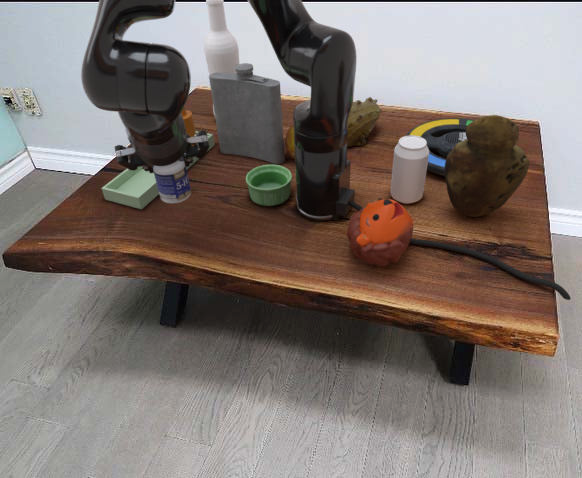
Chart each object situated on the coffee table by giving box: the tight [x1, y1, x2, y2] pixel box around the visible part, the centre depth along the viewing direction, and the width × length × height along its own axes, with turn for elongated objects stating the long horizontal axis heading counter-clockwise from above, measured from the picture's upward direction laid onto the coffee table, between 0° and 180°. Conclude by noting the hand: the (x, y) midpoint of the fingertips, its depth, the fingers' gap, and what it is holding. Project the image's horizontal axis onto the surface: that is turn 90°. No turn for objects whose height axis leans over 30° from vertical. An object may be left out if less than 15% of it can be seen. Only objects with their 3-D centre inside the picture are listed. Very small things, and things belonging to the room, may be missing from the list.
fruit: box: [284, 124, 295, 160], centre depth 108 cm, size 10×9×8 cm
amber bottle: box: [181, 105, 196, 146], centre depth 112 cm, size 5×5×12 cm
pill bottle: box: [153, 161, 192, 204], centre depth 83 cm, size 5×5×9 cm
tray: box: [101, 130, 216, 210], centre depth 109 cm, size 9×27×3 cm, turn 155°
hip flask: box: [208, 62, 286, 165], centre depth 107 cm, size 16×4×20 cm, turn 66°
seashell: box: [347, 96, 383, 148], centre depth 115 cm, size 11×14×10 cm
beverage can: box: [389, 135, 430, 205], centre depth 94 cm, size 6×6×12 cm
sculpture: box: [444, 114, 530, 218], centre depth 86 cm, size 13×8×20 cm, turn 70°
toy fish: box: [346, 198, 415, 267], centre depth 82 cm, size 12×10×11 cm
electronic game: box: [405, 117, 517, 177], centre depth 107 cm, size 23×23×5 cm
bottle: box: [203, 0, 240, 117], centre depth 118 cm, size 8×8×30 cm
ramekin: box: [245, 164, 293, 207], centre depth 99 cm, size 9×9×4 cm
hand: (168, 164), depth 84 cm, fingers closed on pill bottle, 5 cm apart
